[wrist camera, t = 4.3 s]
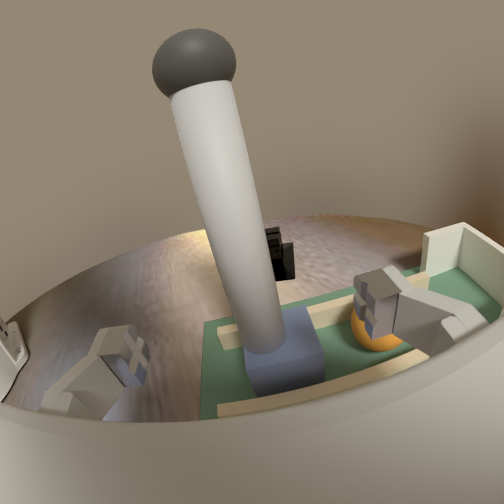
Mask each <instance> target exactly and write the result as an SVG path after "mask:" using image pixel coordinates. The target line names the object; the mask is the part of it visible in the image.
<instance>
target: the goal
mask: <svg viewBox="0 0 504 504" xmlns="http://www.w3.org/2000/svg"><path fill="white" fill-rule="evenodd" d="M455 267H459V268H460V269H461V270H462V271H464V272H465V273H466V274H467V275H468V276H469V277H471V278H472V279H473V280H474V281H475V282H476V283H477V284H478V285H480V286H481V287H482V288H483V289H484V290H485V291H486V292H487V293H488V294H489V295H490V296H491V297H492V298H494V299H495V300H496V301H497V302H498V303H499V304H500V305H501V306H502V307H503V309H502V312H501V314H500V317H501V316H503V315H504V248H503V247H501V246H500V245H499V244H497V243H496V242H494V241H493V240H491V239H490V238H488V237H487V236H485V235H484V234H482V233H481V232H479V231H478V230H476V229H474V228H473V227H471V226H470V225H468V224H466V223H465V222H462V223H458V224H455V225H451V226H448V227H444V228H441V229H437V230H434V231H430V232H427V233H424V236H423V247H422V257H421V266H420V273H418V274H415V275H412V276H409V277H406V279H407V280H408V281H409V282H410V283H411V284H412V285H413V286H414V287H415V288H416V287H421V288H424V289H427V290H428V286H429V280H430V277H432V276H435V275H438V274H440V273H443V272H445V271H448V270H450V269H453V268H455ZM353 296H354V294H352V295H348V296H345V297H342V298H338V299H334V300H331V301H327V302H324V303H320V304H316V305H312V306H309V307H306V308H307V310H308V313H309V315H310V318H311V320H312V323H313V325H314V328H315V330H316V329H319V328H323V327H326V326H330V325H333V324H337V323H340V322H344V321H347V320H350V319H351V316H352V312H353V309H354V298H353ZM500 317H499V318H500ZM217 336H218V338H219V340H220V343H221V345H222V347H223V350H228V349H233V348H238V347H243V342H242V339H241V336H240V333H239V330H238V328H237V325H236V324H231V325H226V326H221V327H217ZM429 357H430V356H428V355H427V354H425V353H423V352H421V351H420V350H418V349H415V350H413V351H410V352H408V353H406V354H403V355H401V356H399V357H396V358H394V359H391V360H389V361H386V362H383V363H381V364H378V365H376V366H373V367H370V368H367V369H364V370H362V371H359V372H356V373H353V374H350V375H347V376H343V377H340V378H337V379H334V380H330V381H327V382H323V383H320V384H316V385H313V386H309V387H305V388H301V389H297V390H293V391H288V392H284V393H280V394H275V395H270V396H265V397H260V398H255V399H249V400H243V401H237V402H230V403H223V404H217V415H218V418H219V419H220V418H228V417H236V416H243V415H249V414H255V413H261V412H267V411H272V410H277V409H282V408H286V407H291V406H295V405H299V404H303V403H307V402H311V401H315V400H319V399H322V398H326V397H329V396H333V395H336V394H340V393H343V392H346V391H349V390H352V389H355V388H358V387H361V386H364V385H367V384H369V383H372V382H375V381H378V380H380V379H383V378H385V377H388V376H390V375H393V374H395V373H398V372H400V371H403V370H405V369H407V368H409V367H412V366H414V365H416V364H418V363H421V362H423V361H425V360H427V359H429Z"/></svg>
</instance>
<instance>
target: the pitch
mask: <svg viewBox="0 0 504 504" xmlns="http://www.w3.org/2000/svg"><path fill="white" fill-rule="evenodd" d="M420 266H421V265H420ZM420 266H417V267H414V268H411V269H408V270H405V271H402V272H400V273H401V274H402V275H403V276H404V277H405V278H406V277H409V276H412V275H415V274H418V273H420ZM428 290H430V291H433V292H436V293H439V294H442V295H445V296H448V297H451V298H454V299H457V300H460V301H463V302H465V303H468V304H471V305H472V306H473V307H474V308H475V309H476V310H477V311H478V312H479V313H480V314H481V315H482V316H483V317H484V318H485V319H486V321H487V322H488V323H489V324H491V323H493V322H494V321H496V320H497V319H499V317H500V314H501V312H502V309H503V307H502V306H501V305H500V304H499V303H498V302H497V301H496V300H495V299H494V298H492V297H491V296H490V295H489V294H488V293H487V292H486V291H485V290H484V289H483V288H482V287H481V286H480V285H478V284H477V283H476V282H475V281H474V280H473V279H472V278H471V277H469V276H468V275H467V274H466V273H465V272H464V271H462V270H461V269H460V268H459V267H455V268H453V269H450V270H448V271H445V272H443V273H440V274H438V275H435V276H432V277H430V280H429V286H428ZM356 291H357V290H356V289H355V287H354V286H353V287H349V288H346V289H342V290H339V291H335V292H331V293H328V294H324V295H320V296H317V297H313V298H309V299H305V300H301V301H297V302H293V303H289V304H285V305H281V306H280V307H281V311H282V310H286V309H290V308H294V307H298V306H302V305H306V307H309V306H312V305H316V304H320V303H324V302H327V301H331V300H334V299H338V298H342V297H345V296H348V295H352V294H355V293H356ZM231 324H236V322H235V319H234V316H232V317H227V318H222V319H217V320H212V321H207V322H205V324H204V338H203V354H202V373H201V396H200V420H211V419H219V418H218V415H217V404H223V403H230V402H237V401H243V400H249V399H255V398H260V397H257V396H256V394H255V392H254V389H253V387H252V384H251V382H250V379H249V377H248V374H247V372H246V367H245V357H244V346H243V347H238V348H233V349H228V350H223V347H222V345H221V343H220V340H219V338H218V336H217V327H221V326H226V325H231ZM316 333H317V336H318V338H319V341H320V343H321V346H322V348H323V351H324V366H325V382H327V381H330V380H334V379H337V378H340V377H343V376H347V375H350V374H353V373H356V372H359V371H362V370H364V369H367V368H370V367H373V366H376V365H378V364H381V363H383V362H386V361H389V360H391V359H394V358H396V357H399V356H401V355H403V354H406V353H408V352H410V351H413V350H415V349H416V348H415V347H413V346H411V345H410V344H408V343H406V342H404V341H403V342H402V343H401V344H400V345H399V346H398V347H396V348H394V349H392V350H389V351H385V352H376V351H371V350H369V349H367V348H365V347H363V346H362V345H361V344H360V343H359V342H358V341H357V339H356V338H355V336H354V334H353V331H352V327H351V319H350V320H347V321H344V322H340V323H337V324H333V325H330V326H326V327H323V328H319V329H316ZM321 383H323V382H321ZM318 384H320V383H318ZM314 385H316V384H314ZM310 386H313V385H310ZM307 387H309V386H307ZM303 388H305V387H303ZM299 389H301V388H299ZM295 390H297V389H295ZM290 391H293V390H290ZM286 392H288V391H286ZM282 393H284V392H282ZM277 394H280V393H277ZM272 395H275V394H272ZM267 396H270V395H267ZM262 397H265V396H262Z"/></svg>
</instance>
